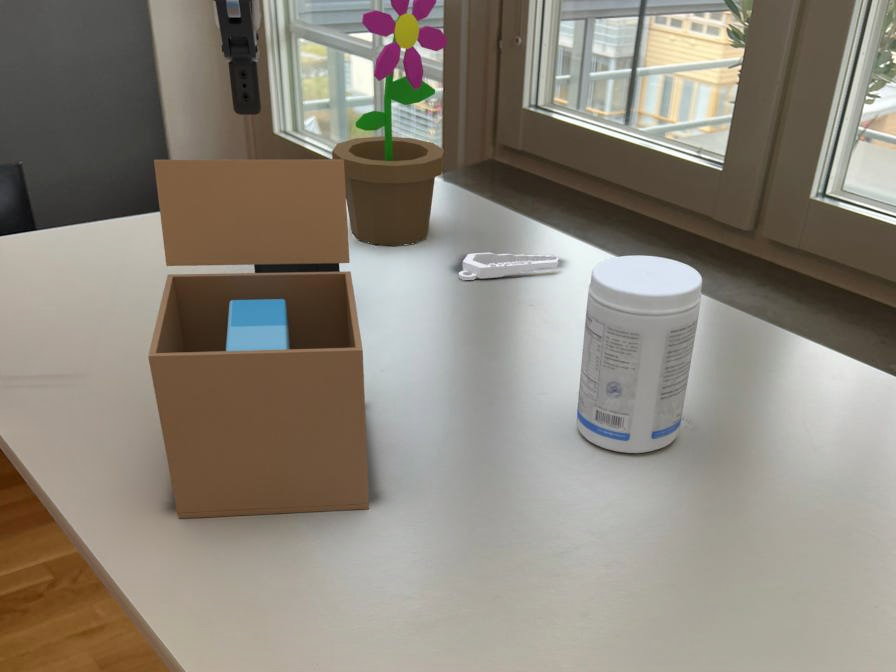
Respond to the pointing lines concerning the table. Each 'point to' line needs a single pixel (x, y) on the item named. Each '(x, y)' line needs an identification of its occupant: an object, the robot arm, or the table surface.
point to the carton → (261, 397)
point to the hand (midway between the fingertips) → (248, 112)
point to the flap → (252, 211)
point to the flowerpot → (394, 139)
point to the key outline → (503, 264)
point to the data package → (257, 325)
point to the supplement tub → (637, 352)
